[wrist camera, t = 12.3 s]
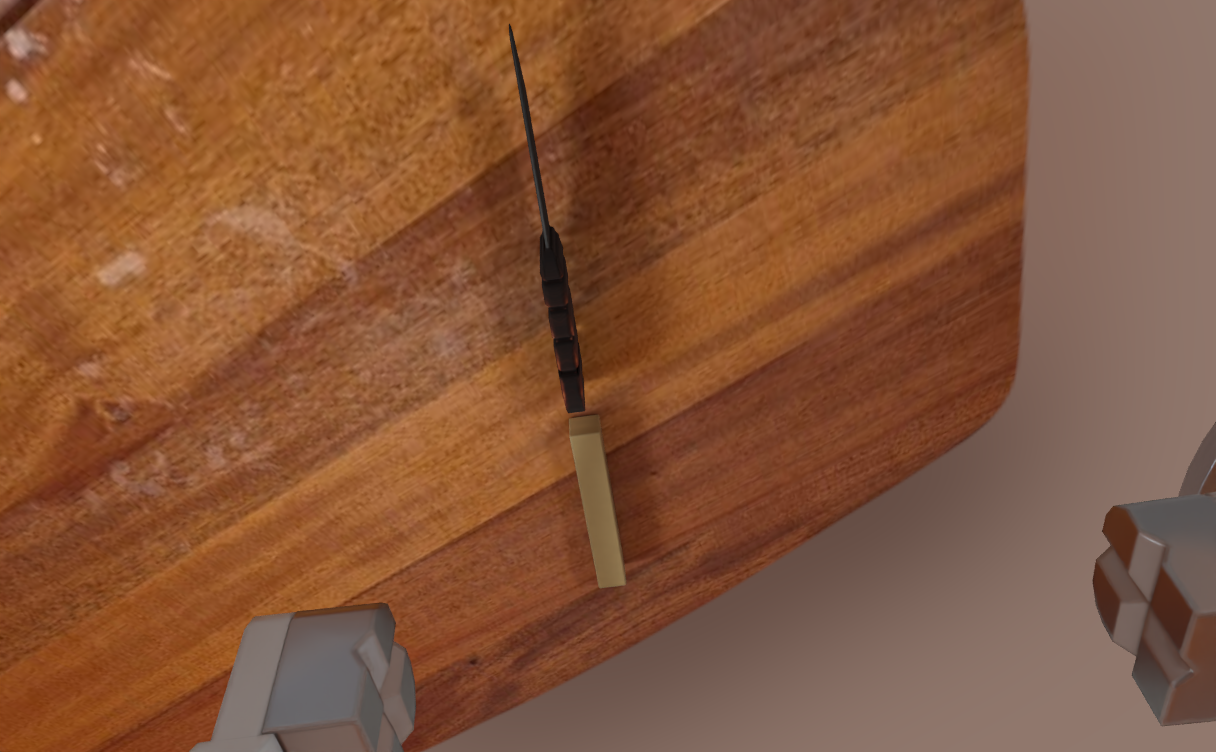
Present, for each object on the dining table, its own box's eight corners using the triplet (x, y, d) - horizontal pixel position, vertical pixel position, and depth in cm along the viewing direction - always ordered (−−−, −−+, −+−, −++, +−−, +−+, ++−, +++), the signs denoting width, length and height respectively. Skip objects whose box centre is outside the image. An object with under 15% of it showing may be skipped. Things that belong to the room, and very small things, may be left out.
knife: (498, 2, 36) (494, 29, 33) (524, -2, 35) (523, 25, 33) (565, 386, 45) (566, 429, 43) (586, 384, 45) (588, 426, 43)
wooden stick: (598, 413, 46) (600, 432, 45) (624, 565, 52) (626, 585, 51) (568, 417, 46) (569, 436, 45) (597, 568, 52) (599, 589, 51)
